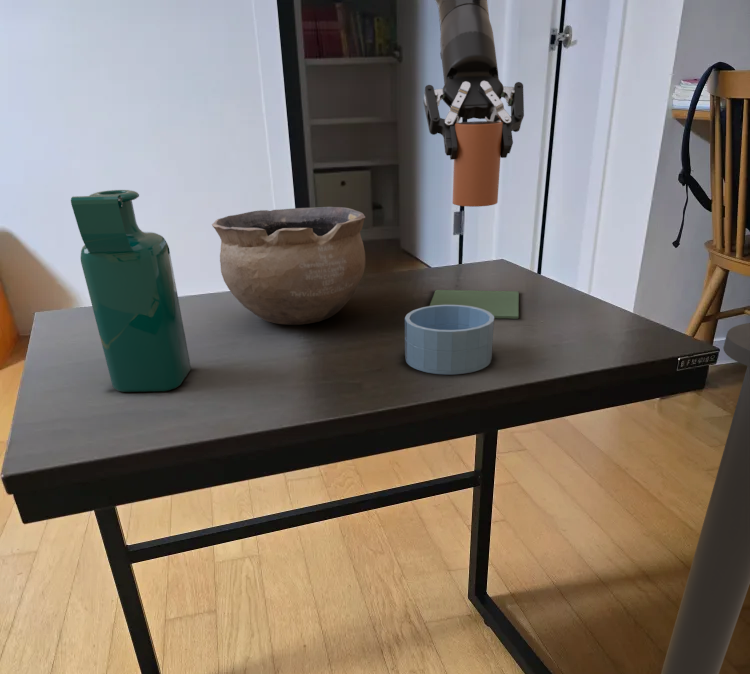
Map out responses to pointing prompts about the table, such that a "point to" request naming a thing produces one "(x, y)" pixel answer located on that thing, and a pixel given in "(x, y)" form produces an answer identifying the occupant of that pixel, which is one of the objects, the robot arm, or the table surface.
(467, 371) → the big pot
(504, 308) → the mat
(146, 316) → the green detergent bottle
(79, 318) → the table surface
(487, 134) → the small pot
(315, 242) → the ceramic bowl
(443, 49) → the robot arm
